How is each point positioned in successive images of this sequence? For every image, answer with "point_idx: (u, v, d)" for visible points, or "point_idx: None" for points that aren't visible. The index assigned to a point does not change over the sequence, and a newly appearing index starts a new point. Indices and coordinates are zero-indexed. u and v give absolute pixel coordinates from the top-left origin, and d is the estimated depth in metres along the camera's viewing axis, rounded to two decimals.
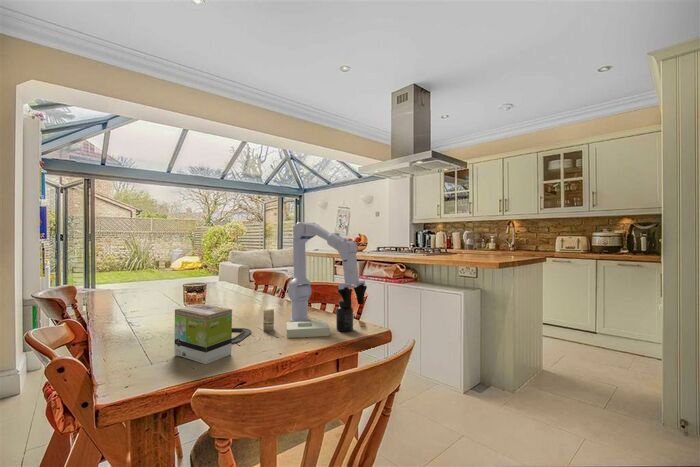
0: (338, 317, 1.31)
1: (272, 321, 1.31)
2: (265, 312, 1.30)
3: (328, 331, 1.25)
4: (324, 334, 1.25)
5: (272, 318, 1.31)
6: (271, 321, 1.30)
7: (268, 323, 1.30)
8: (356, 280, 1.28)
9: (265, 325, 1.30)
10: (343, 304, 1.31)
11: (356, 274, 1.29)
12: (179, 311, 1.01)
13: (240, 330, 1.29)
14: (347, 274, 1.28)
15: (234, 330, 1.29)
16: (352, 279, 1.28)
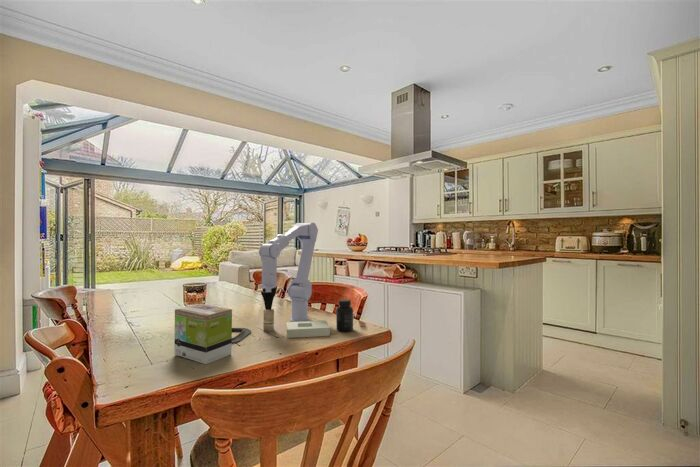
0: (338, 317, 1.31)
1: (272, 321, 1.31)
2: (265, 312, 1.30)
3: (328, 331, 1.25)
4: (324, 334, 1.25)
5: (272, 318, 1.31)
6: (271, 321, 1.30)
7: (268, 323, 1.30)
8: None
9: (265, 325, 1.30)
10: (343, 304, 1.31)
11: (262, 277, 1.31)
12: (179, 311, 1.01)
13: (239, 330, 1.29)
14: None
15: (233, 330, 1.29)
16: None
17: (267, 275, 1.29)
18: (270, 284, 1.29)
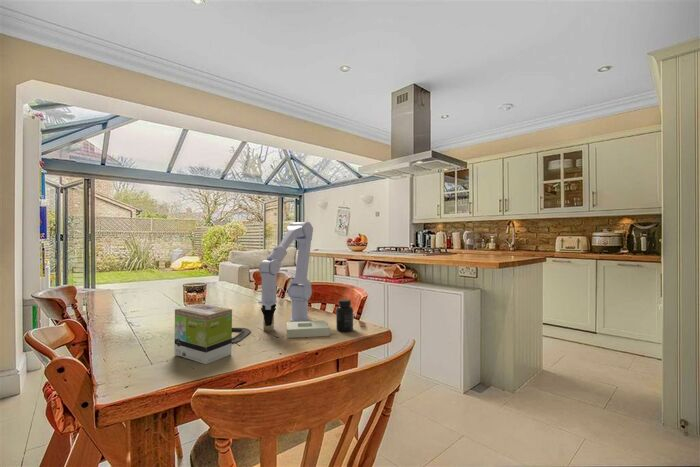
0: (338, 317, 1.31)
1: (272, 321, 1.31)
2: None
3: (328, 331, 1.25)
4: (324, 334, 1.25)
5: None
6: None
7: None
8: None
9: (265, 325, 1.30)
10: (343, 304, 1.31)
11: None
12: (179, 311, 1.01)
13: (239, 330, 1.29)
14: None
15: (233, 330, 1.29)
16: None
17: (267, 292, 1.29)
18: (270, 301, 1.29)
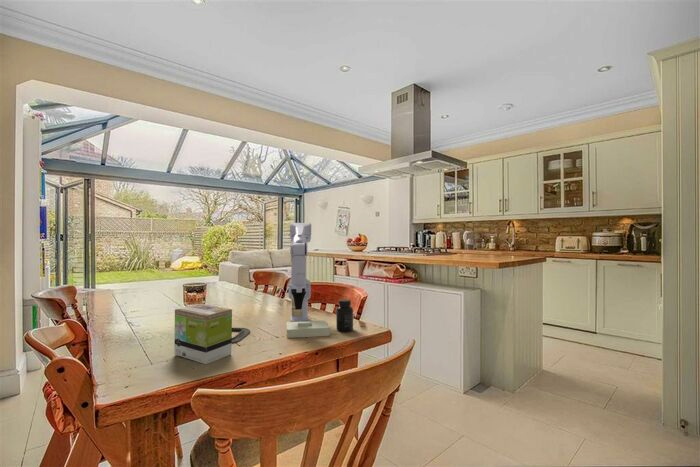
0: (338, 317, 1.31)
1: None
2: None
3: (328, 331, 1.25)
4: (324, 334, 1.25)
5: None
6: None
7: None
8: (291, 283, 1.29)
9: (293, 310, 1.27)
10: (343, 304, 1.31)
11: (291, 277, 1.29)
12: (179, 311, 1.01)
13: (239, 330, 1.29)
14: None
15: (233, 330, 1.29)
16: None
17: (297, 275, 1.27)
18: (300, 284, 1.27)
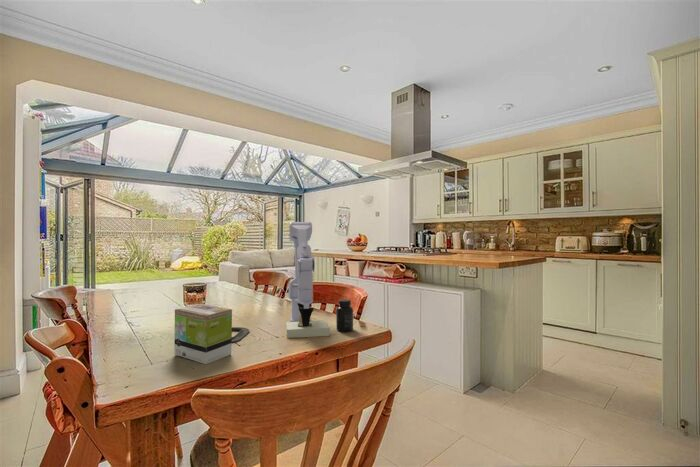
0: (338, 317, 1.31)
1: None
2: (300, 314, 1.27)
3: (328, 331, 1.25)
4: (324, 334, 1.25)
5: None
6: None
7: None
8: None
9: None
10: (343, 304, 1.31)
11: (298, 292, 1.28)
12: (179, 311, 1.01)
13: (238, 329, 1.29)
14: None
15: (232, 329, 1.30)
16: None
17: (304, 290, 1.26)
18: (307, 300, 1.26)
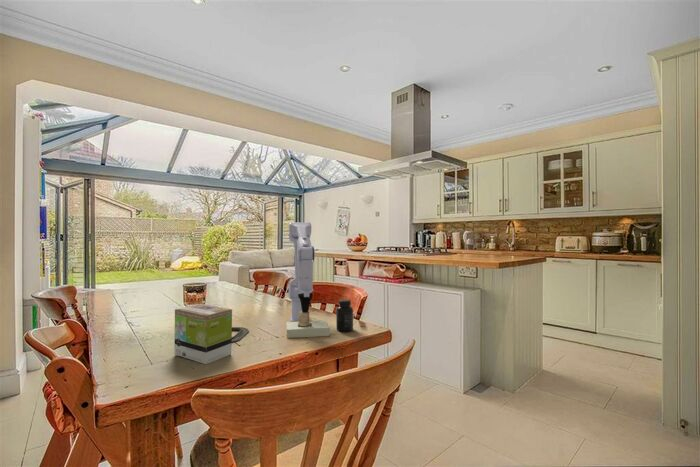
0: (338, 317, 1.31)
1: (307, 324, 1.27)
2: (300, 314, 1.27)
3: (328, 331, 1.25)
4: (324, 334, 1.25)
5: (307, 320, 1.28)
6: (306, 324, 1.27)
7: (303, 326, 1.27)
8: (298, 287, 1.29)
9: None
10: (343, 304, 1.31)
11: (298, 281, 1.28)
12: (179, 311, 1.01)
13: (237, 329, 1.30)
14: None
15: None
16: None
17: (304, 279, 1.26)
18: (307, 288, 1.26)
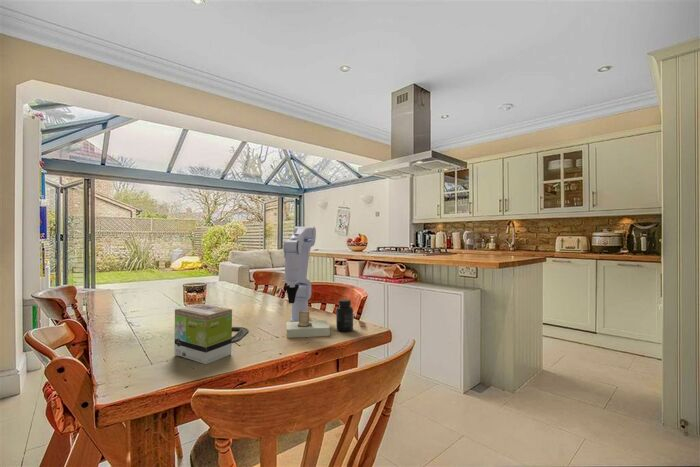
0: (338, 317, 1.31)
1: (307, 324, 1.28)
2: (300, 314, 1.27)
3: (328, 331, 1.25)
4: (324, 334, 1.25)
5: (307, 320, 1.28)
6: (306, 324, 1.27)
7: (303, 326, 1.27)
8: None
9: None
10: (343, 304, 1.31)
11: None
12: (179, 311, 1.01)
13: (237, 329, 1.30)
14: None
15: None
16: None
17: (290, 271, 1.32)
18: (293, 280, 1.32)
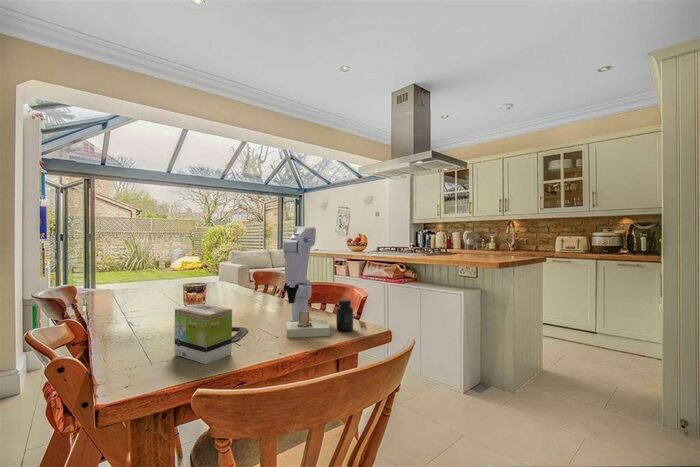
0: (338, 317, 1.31)
1: (307, 324, 1.28)
2: (300, 314, 1.27)
3: (328, 331, 1.25)
4: (324, 334, 1.25)
5: (307, 320, 1.28)
6: (306, 324, 1.27)
7: (303, 326, 1.27)
8: None
9: None
10: (343, 304, 1.31)
11: None
12: (179, 311, 1.01)
13: (236, 329, 1.30)
14: None
15: None
16: None
17: (290, 271, 1.32)
18: (293, 280, 1.32)
